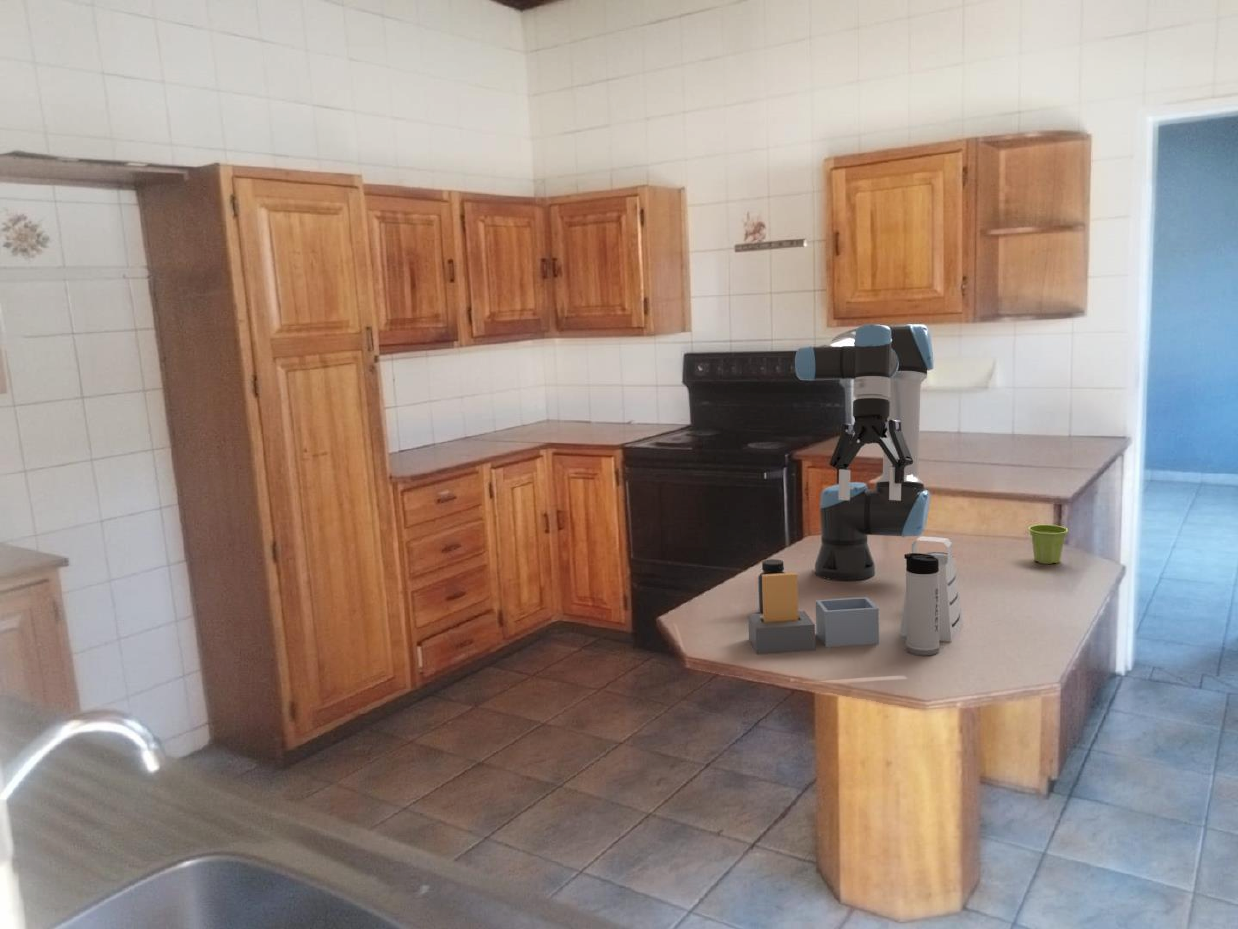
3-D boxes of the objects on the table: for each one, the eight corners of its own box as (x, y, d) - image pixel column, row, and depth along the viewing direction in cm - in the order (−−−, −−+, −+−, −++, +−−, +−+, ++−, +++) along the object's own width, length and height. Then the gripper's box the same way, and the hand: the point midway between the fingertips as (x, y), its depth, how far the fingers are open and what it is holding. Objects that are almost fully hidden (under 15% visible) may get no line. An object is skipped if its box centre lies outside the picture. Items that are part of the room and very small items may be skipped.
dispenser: (756, 656, 197) (755, 626, 196) (749, 641, 206) (748, 612, 205) (815, 653, 198) (814, 622, 197) (805, 638, 207) (804, 608, 206)
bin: (816, 636, 207) (815, 600, 206) (867, 633, 208) (867, 597, 206) (825, 649, 199) (825, 612, 198) (879, 646, 200) (878, 608, 198)
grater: (951, 642, 200) (951, 547, 197) (900, 635, 205) (899, 542, 202) (963, 626, 209) (963, 535, 205) (913, 620, 214) (913, 531, 211)
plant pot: (1069, 558, 255) (1070, 526, 254) (1064, 567, 247) (1064, 534, 246) (1031, 555, 260) (1032, 523, 259) (1024, 564, 252) (1025, 531, 251)
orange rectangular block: (765, 646, 201) (763, 576, 199) (764, 644, 203) (761, 574, 200) (799, 644, 201) (797, 574, 199) (797, 642, 203) (795, 572, 200)
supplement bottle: (771, 605, 230) (769, 556, 228) (795, 611, 225) (793, 560, 223) (753, 613, 225) (751, 562, 223) (777, 619, 220) (775, 567, 218)
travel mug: (900, 646, 199) (899, 551, 196) (931, 644, 199) (931, 549, 196) (911, 657, 193) (911, 559, 189) (944, 654, 193) (944, 556, 190)
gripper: (815, 402, 213) (812, 499, 211) (908, 391, 192) (905, 499, 191) (838, 405, 217) (836, 500, 216) (932, 396, 197) (930, 501, 195)
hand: (868, 500), depth 203 cm, fingers open, 13 cm apart
